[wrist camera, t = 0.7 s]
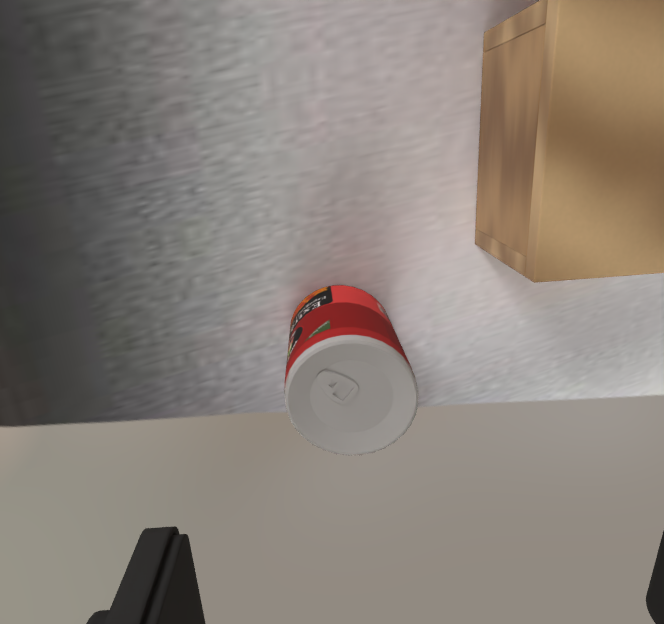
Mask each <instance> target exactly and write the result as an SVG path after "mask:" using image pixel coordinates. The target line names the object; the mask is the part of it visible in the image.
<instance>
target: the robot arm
mask: <svg viewBox="0 0 664 624" xmlns="http://www.w3.org/2000/svg"><path fill="white" fill-rule="evenodd" d="M646 604H647V608H648V611H649V613H650V616H651V617H652V619H653V620H654V622H655V623H656V624H664V532H663V535H662V539H661V543H660V546H659V550H658V554H657V558H656V562H655V566H654V569H653V573H652V577H651V580H650V584H649V588H648V592H647V596H646ZM87 624H205V619H204V614H203V610H202V604H201V599H200V594H199V589H198V584H197V578H196V573H195V568H194V563H193V558H192V553H191V547H190V542H189V538H188V535H187V534H180V535H179V531H178V529H177V527H162V528H147V529H145V530H144V531H143V532H142V534H141V535H140V538H139V540H138V543H137V545H136V547H135V550H134V552H133V555H132V557H131V560H130V562H129V564H128V567H127V569H126V572H125V574H124V577H123V579H122V581H121V584H120V586H119V589H118V591H117V594H116V596H115V598H114V601H113V603H112V606H111V608H110V610H103V611H98V612H95V613H94V614H93V615H92V616H91V617H90V618H89V620H88V622H87Z"/></svg>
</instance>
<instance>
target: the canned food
mask: <svg viewBox="0 0 664 624" xmlns="http://www.w3.org/2000/svg"><path fill="white" fill-rule="evenodd" d="M284 394H285V403H286V409H287V412H288V415H289V418H290V420H291V422H292V424H293V425H294V427H295V429H296V430H297V431H298V432H299V433H300V434H301V435H302V436H303V437H304V438H305V439H306V440H307V441H309V442H310V443H311V444H313V445H315V446H317V447H319V448H321V449H323V450H325V451H329V452H332V453H335V454H342V455H363V454H368V453H373V452H376V451H378V450H381V449H384V448H386V447H387V446H389V445H391V444H392V443H394V442H395V441H396V440H398V438H400V437H401V436H402V435H403V434H404V433H405V432H406V431H407V429H408V428H409V427H410V425H411V423H412V421H413V419H414V417H415V415H416V411H417V407H418V388H417V383H416V379H415V375H414V373H413V371H412V368H411V366H410V363H409V361H408V359H407V357H406V355H405V353H404V350H403V348H402V346H401V344H400V342H399V340H398V337H397V335H396V333H395V331H394V329H393V326H392V324H391V322H390V320H389V318H388V316H387V314H386V311H385V309H384V308H383V307H382V305H381V304H380V303H379V302H378V301H377V300H376V299H375V298H374V297H373V296H371V295H370V294H368V293H366V292H365V291H363V290H360V289H357V288H355V287H350V286H344V285H333V286H328V287H324V288H322V289H319V290H317V291H315V292H313V293H311V294H310V295H309V296H307V297H306V298H305V299H304V300H303V301H302V302H301V303H300V304H299V305H298V307H297V309H296V310H295V312H294V314H293V317H292V320H291V327H290V336H289V346H288V356H287V366H286V376H285V390H284Z"/></svg>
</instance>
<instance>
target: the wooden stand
mask: <svg viewBox="0 0 664 624" xmlns="http://www.w3.org/2000/svg"><path fill="white" fill-rule="evenodd" d="M483 52H484V53H483V68H482V92H481V115H480V138H479V162H478V185H477V208H476V233H475V244H476V245H477V246H479V247H480V248H482V249H483V250H485V251H486V252H488V253H489V254H491V255H492V256H494V257H496V258H497V259H499V260H500V261H502V262H503V263H505V264H506V265H508V266H509V267H511V268H512V269H514V270H516V271H517V272H519V273H520V274H522V275H523V276H525V277H526V278H528V279H529V280H531V281H532V282H534V283H535V282H548V281H561V280H574V279H588V278H601V277H614V276H628V275H641V274H654V273H664V0H540V1H538V2H536V3H534V4H533V5H531V6H529V7H527V8H526V9H524V10H522V11H521V12H519V13H517V14H515V15H514V16H512V17H510V18H508V19H507V20H505V21H503V22H502V23H500V24H498V25H496V26H495V27H493V28H491V29H490V30H488V31H486V32H484V47H483Z"/></svg>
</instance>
